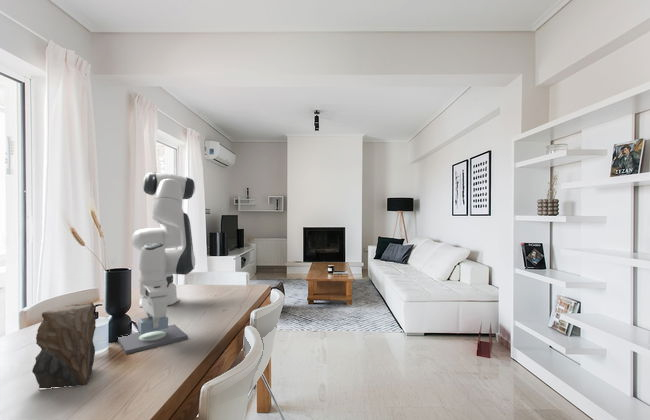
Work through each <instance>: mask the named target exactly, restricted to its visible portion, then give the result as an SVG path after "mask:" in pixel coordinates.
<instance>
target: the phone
mask: <svg viewBox="0 0 650 420" xmlns="http://www.w3.org/2000/svg"><path fill="white" fill-rule="evenodd" d="M152 322H153V317H144V318H139V319H137V332H140V333H141V334H144V333H149V332H153V331H158V330H162V329H167V328H168V326H169V317H168V316H167V315H166V316H165V317H164V318H160V320H159V326H158V327H157V328H153V326H152Z"/></svg>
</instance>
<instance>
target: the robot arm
mask: <svg viewBox="0 0 650 420" xmlns="http://www.w3.org/2000/svg"><path fill="white" fill-rule="evenodd" d="M141 184H142V189H143V192H144V193H145V194H147V195H149V196H154V199H153V204H152V210H151V211H152V213H151V217H152V219H153V220H154V222H156V223H158V224H159V225H161V227H147V228H140V229H138V230H137V229H136V230H135V231H134V233H133V234H132V236H131V243H132V246H133V247H134V248H135V249H136V250H138V251H139V252H140V255H139V264H138V265H139V266H138V267H139V271H140V277H139V280H138V281H139V286H138V287H139V292H138V293H139V295H140V296H141V298H139V307H140V308H142V309H143V310H145V311H146V316H147V317H146V318H148V317H153V322H152V326H153V328H157V327H158V326H159V320H160V318H164V317H165V316H167V309H168V306H171V305H174V304H175V303H177V302H179V301H181V299H180V298H179V297H178V294H177V292H178V291H177V285H176V284H174V275H185V276H187V275H188V274H190V273H191V272H192V271H193V270H194V269H195V265H196V256H195V252H194V247H193V244H194V243H193V236H192V227H191V221H190V218H189V215H188V214H187V213H185V212H184V210H183V200H190V199H192V197H193V196H194V195H195V193H196V184H195V181H194V179H192V178H190V177H188V176H186V177H185V176H181V175H178V174H168V173H161V172H160V173H159V172H154V171H153V172H147V173H146V174H145V176H144V177H143V179H142V182H141ZM179 247H180V248H179ZM176 248H179V249H176Z"/></svg>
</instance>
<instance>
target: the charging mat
mask: <svg viewBox="0 0 650 420" xmlns="http://www.w3.org/2000/svg"><path fill="white" fill-rule="evenodd" d="M129 334H130V335H128V334H127V335H128V336H123V335H121V336H122V337H118V336H117V337H118V340H117V342H118V344H119V345H120V347H121V349H122V351H123V352H124V354H125V355H129V354H133V353H137V352H140V351H144V350H147V349H152V348H157V347H160V346H161V347H162V346H165V345H168V344H172V343H177V342H180V341H185V340H188V339H189V336H188V334H186V332H185V331H183V330H182V329H181V328H179V327H178V326H177V324H170V325H169V324H168V328H167V329H162V330H158V331H153V332H149V333H144V334H141V333H139V331H137V332H131V333H129Z"/></svg>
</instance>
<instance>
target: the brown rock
mask: <svg viewBox="0 0 650 420" xmlns="http://www.w3.org/2000/svg"><path fill="white" fill-rule="evenodd" d="M94 312H95V304H94V302H90V303H89V302H88V303H83V304H73V303H72V304H70V305H66V306H65V307H62V308H58V309H56V310H47V311H44V312H42V313H41V317H42V321H41V323H40V325H39V326H38V328H37V330H36V331H37V333H36V337H35V340H36V342H35V344H36V345H37V346H38V347H39V348H40V349H41V350H40V352H39V353H38V354H37V355H36V356H35V363H34V365H33V367H32V370H31V371H32V374H34V376H35V379H36V383H37V385H38V389H39V388H51V387H64V386H75V387H78V386H77V385H81V386H86V384H87V385H88V382H89V381H88V380H89V379H90V376H91V373H92V370H93V367H94V366H93V365H94V361H95V354H96V349H95V348H96V346H95V344H94V341H93V340H94V336H95V332H96V328H97V327H96V316H95V313H94ZM64 388H65V387H64Z"/></svg>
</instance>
